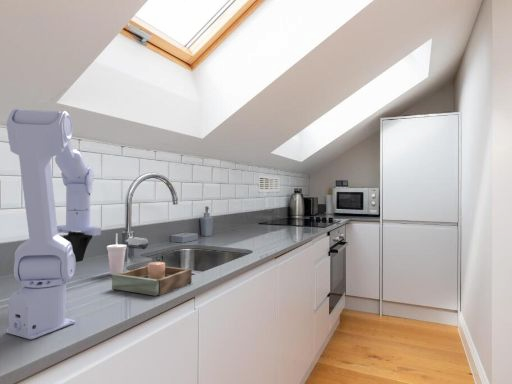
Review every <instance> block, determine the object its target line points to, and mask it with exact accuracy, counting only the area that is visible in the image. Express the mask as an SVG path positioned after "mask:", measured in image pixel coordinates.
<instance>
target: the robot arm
mask: <svg viewBox="0 0 512 384" xmlns="http://www.w3.org/2000/svg"><path fill="white" fill-rule="evenodd" d="M73 129H74V127H73V120H72V117H71V115H70V114H69V113H68V112H67V111H66V110H61V111H57V110H56V111H55V110H39V109H38V110H36V109H22V108H17V107H16V108H14V109H12V110H11V111H10V113H9V115H8V118H7V120H6V131H7V138H8V144H9V149H10V152H11V153H13V154H15V155H17V156H18V159H19V166H20V176H21V183H22V191H23V198H24V200H23V201H24V206H25V215H26V222H27V229H28V237H29V238H27V240H25V241H23V242H22V243H21V244H20V245H19V246H18V247H17V248H16V250H15V252H14V263H13V275H14V279H16V281H17V282H18V283H20V287H21V288H20V289H19V290H18V289H17V290H16V291H13V292H12V293H11V294H10V296H9V298H8V317H7V318H8V319H7V321H8V322H7V323H8V324H7V327H8V328H7V329H6V330H5V333H6V334H9V335H14V336H16V337H17V336H18V337H21V338H24V339H27V340H34V339H36V338H40V337H42V336H44V335H47V334H50V333H51V332H55V331H58V330H60V329H61V328H65V327H68V326H70V325H72V324H74V323H76V320H75V319H72V318H67V316H66V315H67V314H66V312H67V311H66V308H67V306H66V302H67V301H66V300H67V299H66V298H67V293H66V292H67V284H66V283H67V281H70V280H71V279H72V278H73V277H74V274H75V272H76V263H80V262H83V260H84V257H85V253H86V251H87V249H88V246H89V243H90V241H91V240H92V239H93V237H95V236H101V235H102V227H98V226H93V225H91V193H93V185H94V184H93V183H94V180H95V179H94V176H95V175H94V168H93V167H90V165H87V164H86V163H85V161H84V158H83V157H82V155H81V153H80V151H79V150H77V149H76V148H73V146H72V144H71V139H72V136H73V131H74V130H73ZM53 157H54V162H55V164H56V165H57V167H58V168H59V169H60V171H61V178H62V182H63V185H64V186H65V190H66V193H65V194H66V197H65V198H66V199H65V224H64V225H63V224H60V225H57V224H58V223H57V214H56V206H55V205H56V204H55V195H54V185H53V175H52V165H51V160H52V158H53ZM58 233H59V234H58ZM60 233H62V234H66V235H63V236H61V235H60Z"/></svg>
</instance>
